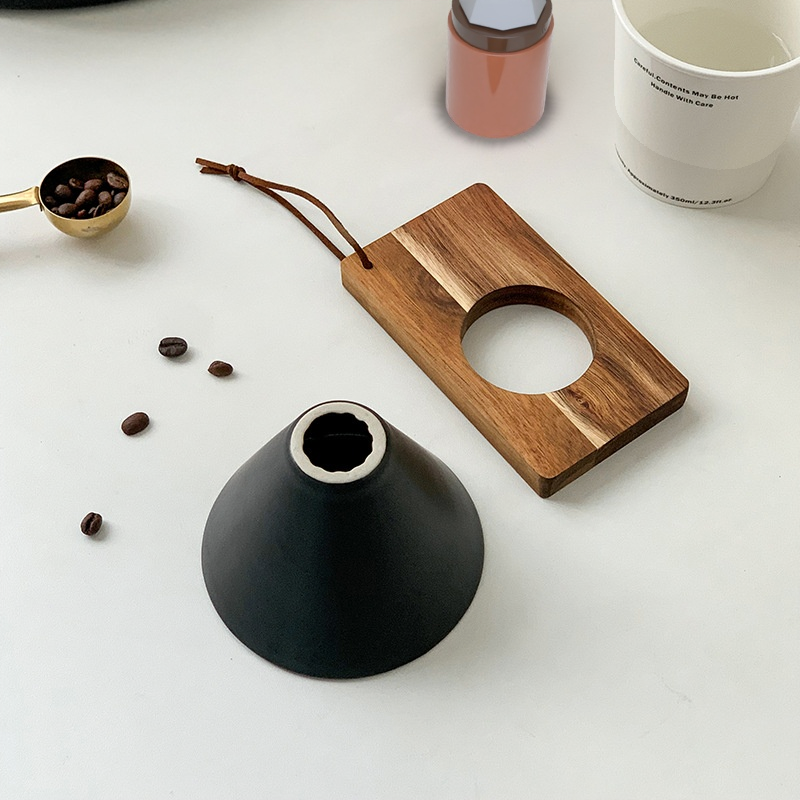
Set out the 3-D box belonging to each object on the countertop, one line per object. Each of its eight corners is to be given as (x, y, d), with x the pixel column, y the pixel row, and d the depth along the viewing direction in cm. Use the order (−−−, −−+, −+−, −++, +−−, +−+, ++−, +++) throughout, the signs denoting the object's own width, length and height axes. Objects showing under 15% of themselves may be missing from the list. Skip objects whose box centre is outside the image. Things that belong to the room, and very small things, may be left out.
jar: (525, 67, 112) (535, -39, 103) (557, 132, 107) (571, 28, 98) (433, 86, 111) (434, -19, 101) (462, 153, 106) (466, 49, 97)
